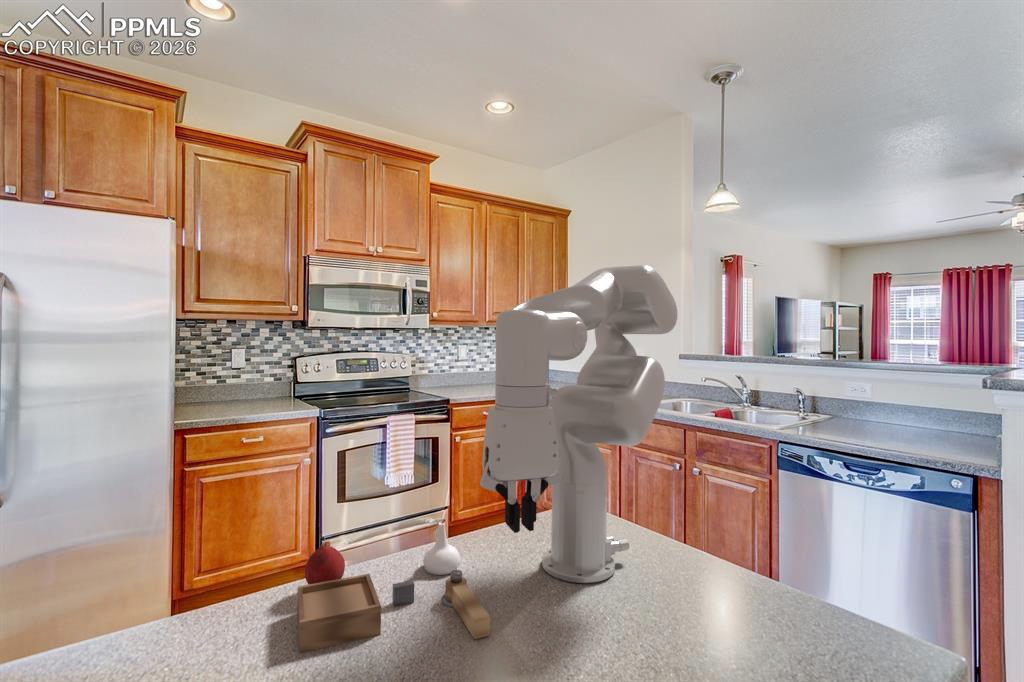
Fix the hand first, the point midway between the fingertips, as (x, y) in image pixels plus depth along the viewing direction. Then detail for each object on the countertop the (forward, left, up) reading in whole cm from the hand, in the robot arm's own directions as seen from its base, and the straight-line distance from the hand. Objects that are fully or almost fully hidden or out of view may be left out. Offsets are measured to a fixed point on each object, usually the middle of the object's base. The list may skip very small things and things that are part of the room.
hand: (520, 527), depth 70 cm
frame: (+10, -9, -13) cm, 19 cm away
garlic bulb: (+5, -20, -13) cm, 25 cm away
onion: (+24, -19, -13) cm, 34 cm away
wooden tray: (+23, -9, -13) cm, 28 cm away
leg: (+6, -4, -13) cm, 15 cm away
